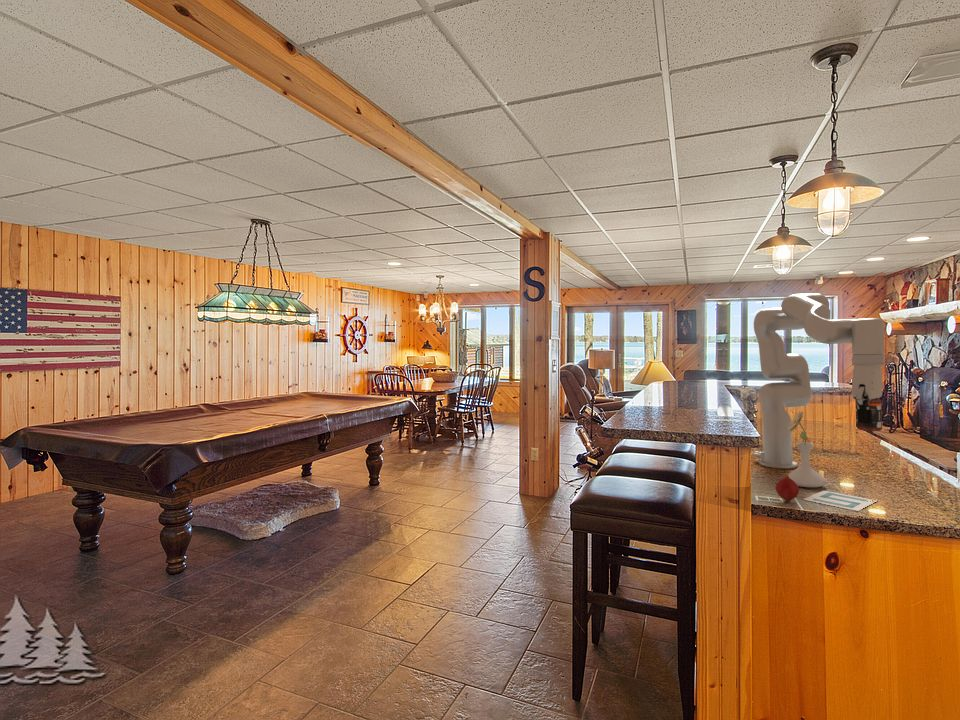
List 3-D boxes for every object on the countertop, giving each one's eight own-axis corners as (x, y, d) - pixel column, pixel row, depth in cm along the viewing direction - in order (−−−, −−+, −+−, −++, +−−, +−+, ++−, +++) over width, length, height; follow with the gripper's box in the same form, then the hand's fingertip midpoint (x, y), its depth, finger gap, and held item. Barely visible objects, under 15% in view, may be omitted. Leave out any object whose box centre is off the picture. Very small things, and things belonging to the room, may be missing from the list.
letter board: (802, 499, 149) (802, 499, 149) (823, 491, 157) (823, 490, 157) (858, 511, 138) (858, 510, 138) (877, 501, 145) (877, 500, 145)
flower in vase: (790, 479, 172) (788, 406, 171) (830, 484, 164) (828, 408, 163) (779, 487, 163) (777, 411, 162) (821, 493, 154) (819, 413, 154)
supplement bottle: (887, 431, 143) (886, 392, 143) (863, 431, 144) (863, 392, 144) (874, 428, 149) (873, 390, 149) (852, 428, 150) (851, 390, 150)
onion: (771, 499, 151) (771, 473, 151) (789, 498, 151) (788, 471, 151) (785, 505, 145) (784, 477, 145) (803, 503, 146) (803, 476, 146)
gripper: (863, 359, 154) (864, 417, 155) (841, 361, 144) (842, 423, 145) (893, 359, 148) (894, 419, 149) (873, 362, 138) (874, 426, 139)
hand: (868, 421), depth 147 cm, fingers closed on supplement bottle, 6 cm apart
